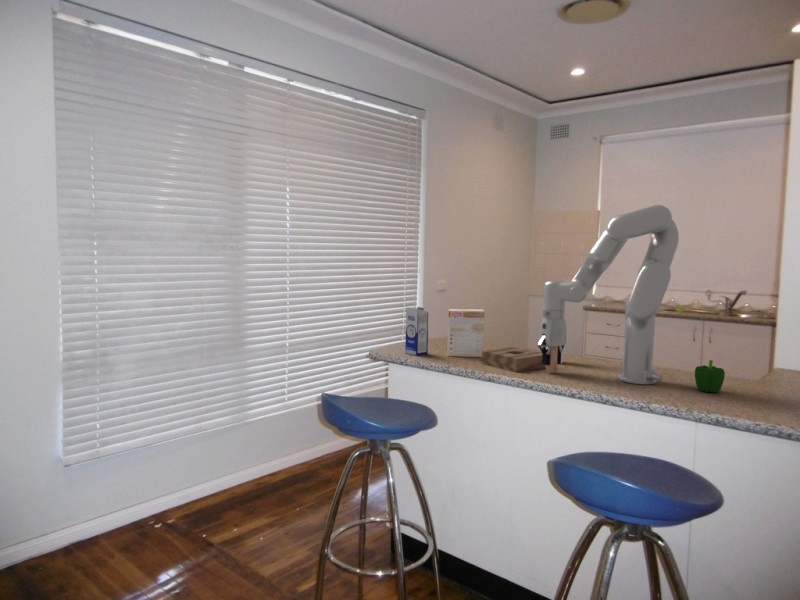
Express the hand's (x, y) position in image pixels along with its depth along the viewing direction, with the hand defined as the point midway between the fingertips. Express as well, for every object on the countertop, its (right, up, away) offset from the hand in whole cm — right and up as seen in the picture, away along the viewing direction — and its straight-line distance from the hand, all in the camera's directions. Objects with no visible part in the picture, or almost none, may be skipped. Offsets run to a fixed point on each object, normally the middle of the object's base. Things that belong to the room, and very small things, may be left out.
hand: (551, 363), depth 198 cm
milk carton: (-49, 0, +32) cm, 58 cm away
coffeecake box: (-28, 0, +31) cm, 41 cm away
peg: (0, -3, 0) cm, 3 cm away
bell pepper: (+45, -7, -23) cm, 51 cm away
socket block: (-11, -2, +12) cm, 16 cm away
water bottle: (+8, -2, +20) cm, 22 cm away
